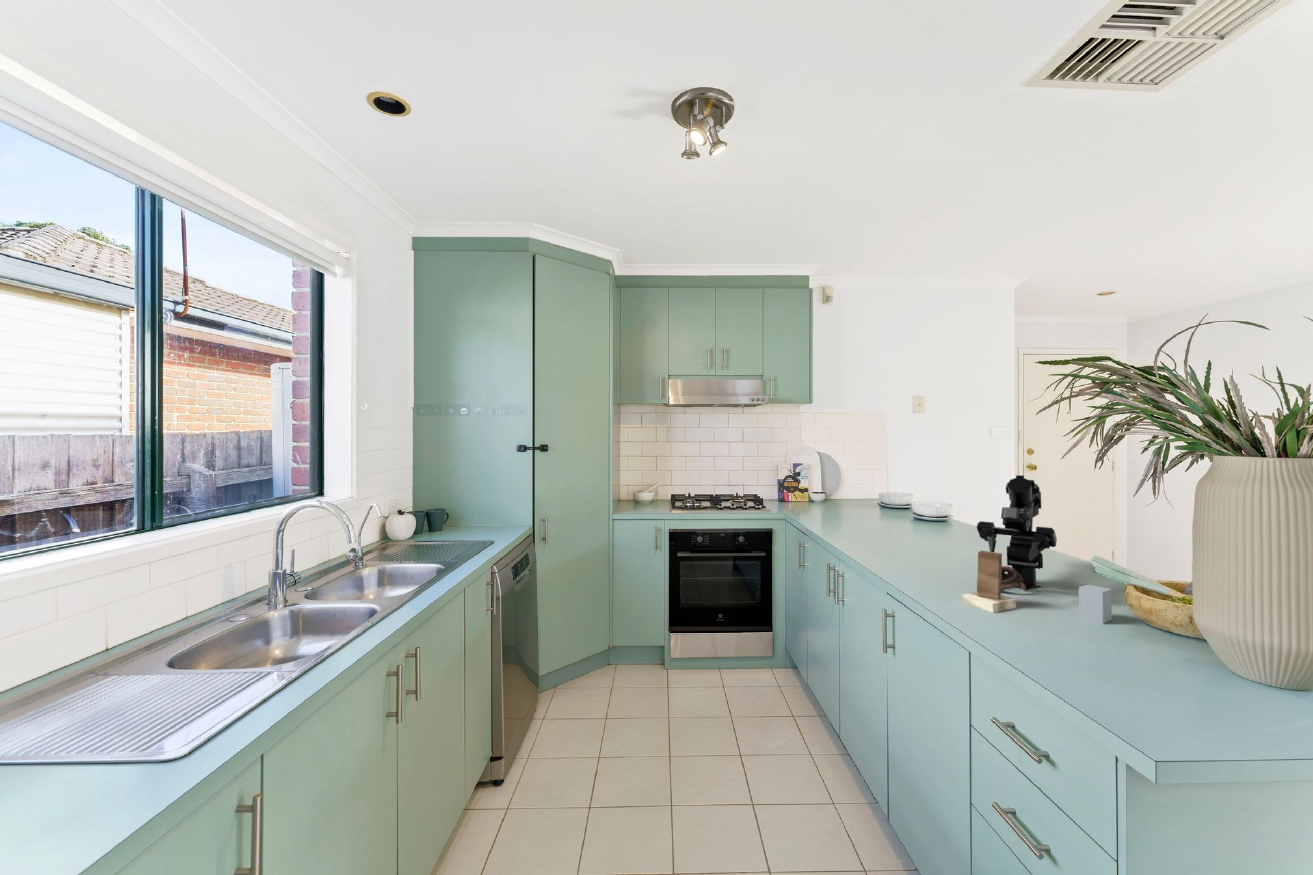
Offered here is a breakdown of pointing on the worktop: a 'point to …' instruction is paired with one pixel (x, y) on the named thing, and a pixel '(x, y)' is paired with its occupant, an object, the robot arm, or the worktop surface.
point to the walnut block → (989, 574)
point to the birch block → (989, 602)
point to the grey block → (1095, 603)
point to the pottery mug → (1011, 578)
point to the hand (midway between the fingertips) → (1010, 557)
